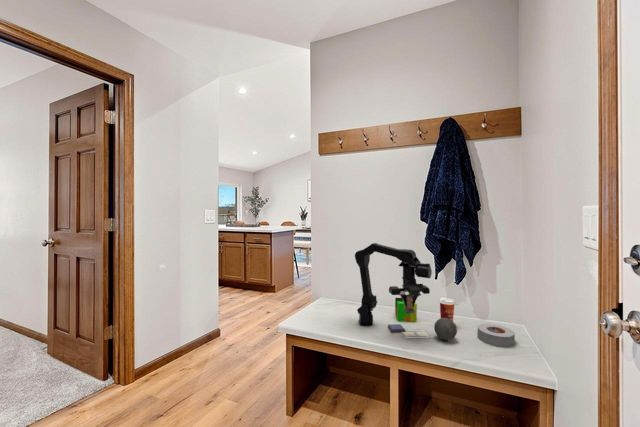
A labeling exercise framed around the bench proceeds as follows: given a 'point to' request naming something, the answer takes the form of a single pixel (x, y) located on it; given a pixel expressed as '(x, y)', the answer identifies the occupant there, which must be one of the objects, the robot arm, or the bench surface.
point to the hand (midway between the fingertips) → (409, 307)
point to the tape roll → (496, 335)
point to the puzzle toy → (401, 314)
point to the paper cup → (447, 308)
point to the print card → (416, 334)
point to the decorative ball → (445, 329)
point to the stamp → (409, 305)
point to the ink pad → (396, 328)
